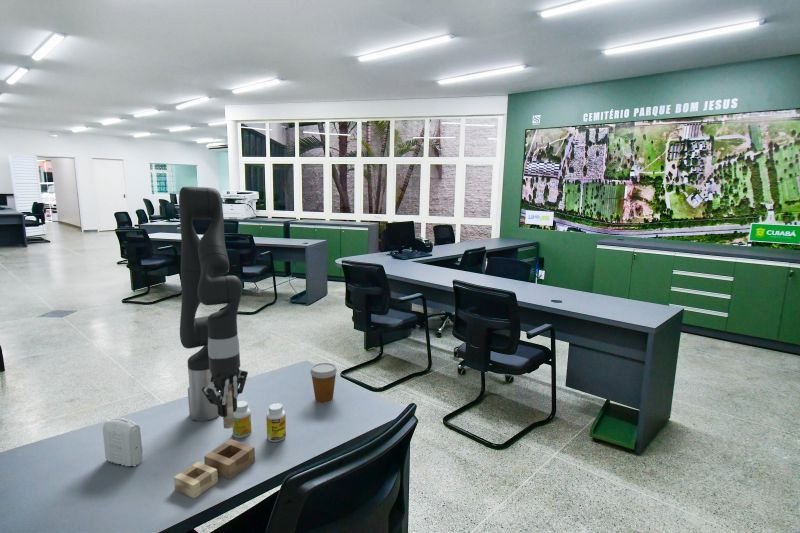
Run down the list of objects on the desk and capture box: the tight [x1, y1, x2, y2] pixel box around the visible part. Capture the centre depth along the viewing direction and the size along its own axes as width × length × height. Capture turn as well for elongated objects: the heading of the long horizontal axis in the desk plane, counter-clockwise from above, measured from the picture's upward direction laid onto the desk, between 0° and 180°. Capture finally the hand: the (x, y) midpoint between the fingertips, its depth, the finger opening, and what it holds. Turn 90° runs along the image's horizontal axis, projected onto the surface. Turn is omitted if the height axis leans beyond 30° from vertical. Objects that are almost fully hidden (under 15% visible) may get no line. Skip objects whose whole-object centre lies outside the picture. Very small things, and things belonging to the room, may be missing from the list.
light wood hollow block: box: [173, 461, 219, 499], centre depth 110 cm, size 7×7×4 cm
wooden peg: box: [222, 384, 234, 430], centre depth 116 cm, size 3×3×12 cm
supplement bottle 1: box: [232, 400, 252, 439], centre depth 133 cm, size 5×5×10 cm
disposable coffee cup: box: [309, 362, 338, 404], centre depth 156 cm, size 10×10×12 cm
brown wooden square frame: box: [203, 438, 256, 480], centre depth 118 cm, size 9×9×4 cm
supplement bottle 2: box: [265, 402, 287, 443], centre depth 131 cm, size 6×6×10 cm
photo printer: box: [102, 417, 143, 467], centre depth 119 cm, size 10×4×12 cm, turn 72°
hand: (227, 413), depth 116 cm, fingers closed on wooden peg, 2 cm apart
